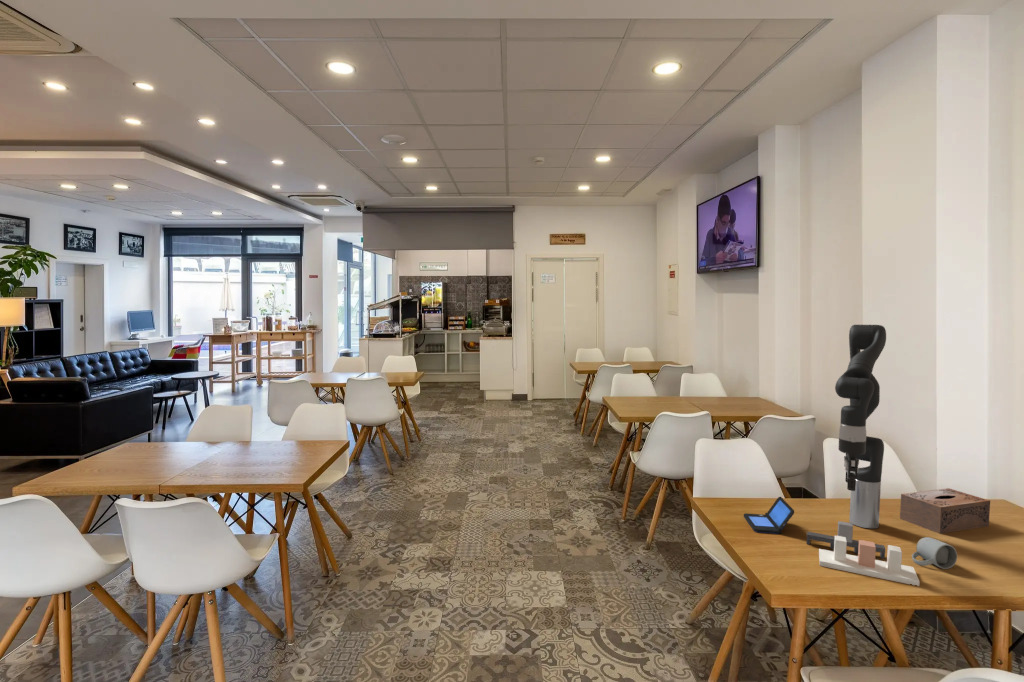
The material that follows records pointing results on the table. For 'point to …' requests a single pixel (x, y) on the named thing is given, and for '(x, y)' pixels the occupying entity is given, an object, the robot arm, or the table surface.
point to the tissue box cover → (945, 510)
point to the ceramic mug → (935, 553)
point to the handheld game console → (771, 518)
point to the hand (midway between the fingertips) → (850, 486)
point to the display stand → (868, 562)
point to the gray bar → (844, 531)
